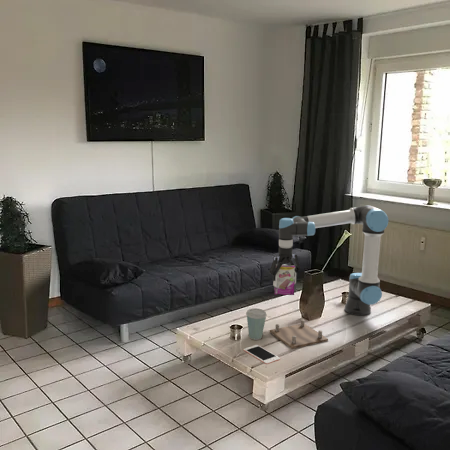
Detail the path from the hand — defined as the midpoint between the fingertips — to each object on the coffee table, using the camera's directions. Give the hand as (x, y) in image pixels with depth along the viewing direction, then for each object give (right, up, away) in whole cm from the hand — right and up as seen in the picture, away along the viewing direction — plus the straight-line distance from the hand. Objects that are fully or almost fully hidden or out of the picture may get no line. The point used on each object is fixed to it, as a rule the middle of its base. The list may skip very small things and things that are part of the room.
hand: (284, 284), depth 278 cm
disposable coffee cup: (-17, -26, -16) cm, 35 cm away
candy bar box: (0, -5, +1) cm, 6 cm away
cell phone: (-15, -30, -35) cm, 49 cm away
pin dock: (+5, -25, -14) cm, 30 cm away
